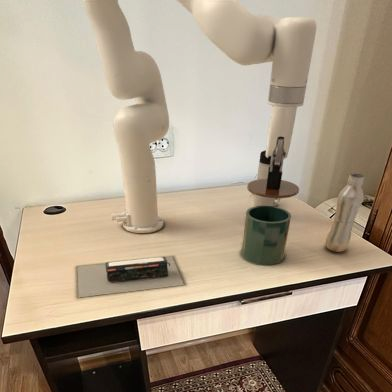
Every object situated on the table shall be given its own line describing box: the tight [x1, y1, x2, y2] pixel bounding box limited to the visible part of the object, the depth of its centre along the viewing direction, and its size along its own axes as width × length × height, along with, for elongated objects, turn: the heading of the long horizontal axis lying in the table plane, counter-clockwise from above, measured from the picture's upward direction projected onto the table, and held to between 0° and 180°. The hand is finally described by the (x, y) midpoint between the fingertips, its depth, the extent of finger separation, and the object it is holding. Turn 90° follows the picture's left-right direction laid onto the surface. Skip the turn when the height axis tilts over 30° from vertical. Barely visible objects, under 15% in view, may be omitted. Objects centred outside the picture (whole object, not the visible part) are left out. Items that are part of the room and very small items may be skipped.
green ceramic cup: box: [241, 206, 292, 266], centre depth 97 cm, size 12×12×12 cm
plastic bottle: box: [325, 173, 365, 253], centre depth 98 cm, size 6×7×20 cm
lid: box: [246, 179, 300, 199], centre depth 88 cm, size 13×13×6 cm
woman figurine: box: [248, 193, 281, 207], centre depth 132 cm, size 12×4×18 cm
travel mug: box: [253, 149, 274, 207], centre depth 115 cm, size 6×7×20 cm
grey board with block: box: [77, 256, 185, 298], centre depth 90 cm, size 14×25×4 cm, turn 104°
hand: (273, 186), depth 89 cm, fingers closed on lid, 2 cm apart
